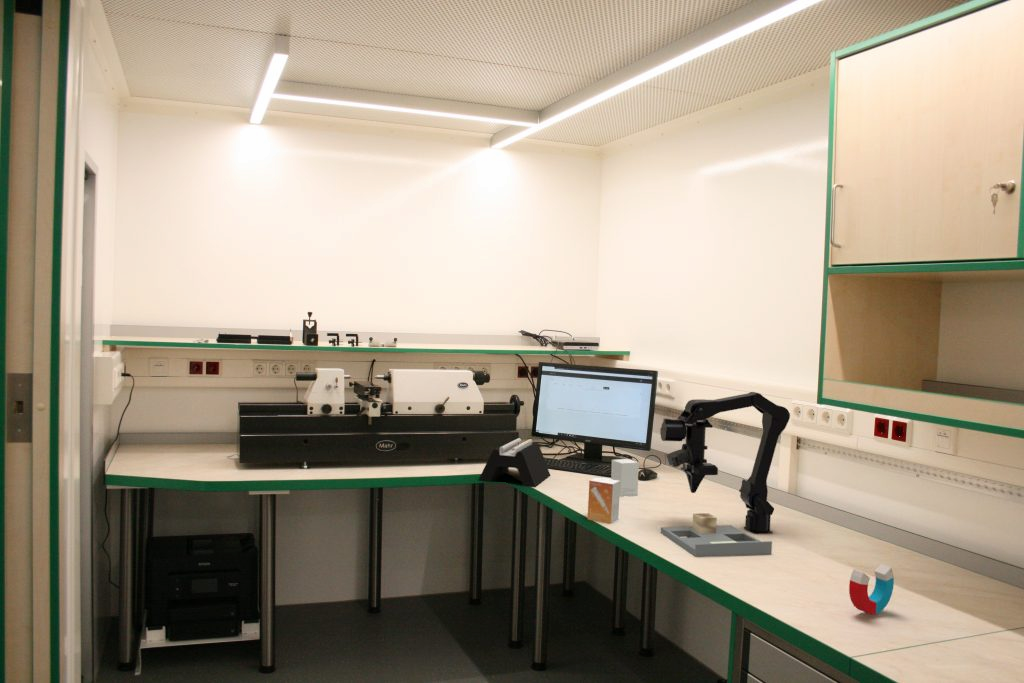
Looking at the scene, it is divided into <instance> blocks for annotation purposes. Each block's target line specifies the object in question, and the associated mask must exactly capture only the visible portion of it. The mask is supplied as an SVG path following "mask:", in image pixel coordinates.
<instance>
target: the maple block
mask: <svg viewBox="0 0 1024 683" xmlns="http://www.w3.org/2000/svg"><path fill="white" fill-rule="evenodd" d="M717 521H718V518H717V516H715V515H712V514H710V513H709V512H708V513H704V512H703V513H702V512H700V513H693V514H692V526H693V527H692V529H694V530H695V531H697V532H699V533H700V534H703V533H716V525H717Z"/></svg>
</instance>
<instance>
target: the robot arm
mask: <svg viewBox="0 0 1024 683" xmlns="http://www.w3.org/2000/svg"><path fill="white" fill-rule="evenodd" d="M684 406H685V407H684V409H683V411H682V412H681V413H680V414H679V416H678V417H677V419H674V418H665V417H664V418H663V421H662V423H661V428H660V431H659V432H660V433H659V434H660V439H661V441H662V442H682V441H683V440H685V443H682V445H681V449H677V450H673V451H672V452H668V453H667V454H666V458H667V462H668V464H669V466H672V467H673V468H677V467H680V466H681V465H682V467H680V470H682V471H683V473H684V474H685V476H686V478H687V482H688V486H689V491H690V493H691V494H696V493H697V491H698V488H699V487H700V485H701V483H702V482H703V480H704V479H705V477H706V476H718V474H719V468H718V466H717V465H715V464H712V463H710V462H708V460H707V459H706V458H705V451H706V450H708V445H706V428H710V429H711V428H713V425H712V424H711V423H710V422H709V420H708V419H710V418H713V417H714V416H715V415H718V414H720V413H724V412H729V411H735V410H739V409H745V408H749V407H750V408H751V407H753V408H754V409H756V411H758V412H759V413H761V414H762V415H761V416H762V417H761V423H762V424H761V425H762V435H761V438H760V441H759V445H758V450H757V451H756V456H755V460H754V464H753V467H752V471H751V473H750V476H749V477H748V478H747V480H746V479H742V481H741V485H740V486H741V487H740V488H739V491H738V492H739V493H740V494H739V495H740V496H739V497H740V498H741V501H742V502H743V503H744V505H745V508H746V509H747V511H746V514H745V522H744V523H745V524H744V526H743V529H744V530H746V531H748V532H750V533H752V534H754V535H763V534H764V535H766V534H773V533H774V532H773V531H772V530H771V516H772V515H773V514H774V511H775V508H774V507H773V505H772V504H771V503H770V502H769V501H768V492H769V491H768V484H767V480H768V476H769V473H770V469H771V466H772V462H773V458H774V454H775V452H776V447H777V444H778V440H779V437H780V435H781V434H782V433H783V432H784V431H785V429H786V428H787V426H788V423H789V421H790V418H791V413H790V412H789V409H787V407H785V406H782V405H778V404H776V403H774V402H773V401H772V400H769V399H768V398H766V397H764V395H763V394H761V393H760V392H756V391H750V392H748V393H743V394H742V393H741V394H738V395H733V396H727V397H721V398H716V399H704V398H703V399H697V398H696V399H690V400H688V401H687V403H686V404H685V405H684Z"/></svg>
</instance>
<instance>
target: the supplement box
mask: <svg viewBox="0 0 1024 683" xmlns="http://www.w3.org/2000/svg"><path fill="white" fill-rule="evenodd" d="M639 463H640V462H639V461H636V460H632V459H630V458H623V459H622V458H621V459H620V458H619V459H618V458H617V459H611V472H610V473H611V474H610V476H611V477H610V479H612V480H619V481H620V496H619V498H620V497H621V498H622V497H623V498H624V496H628V497H638V494H639V493H638V492H639V465H640V464H639Z"/></svg>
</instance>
